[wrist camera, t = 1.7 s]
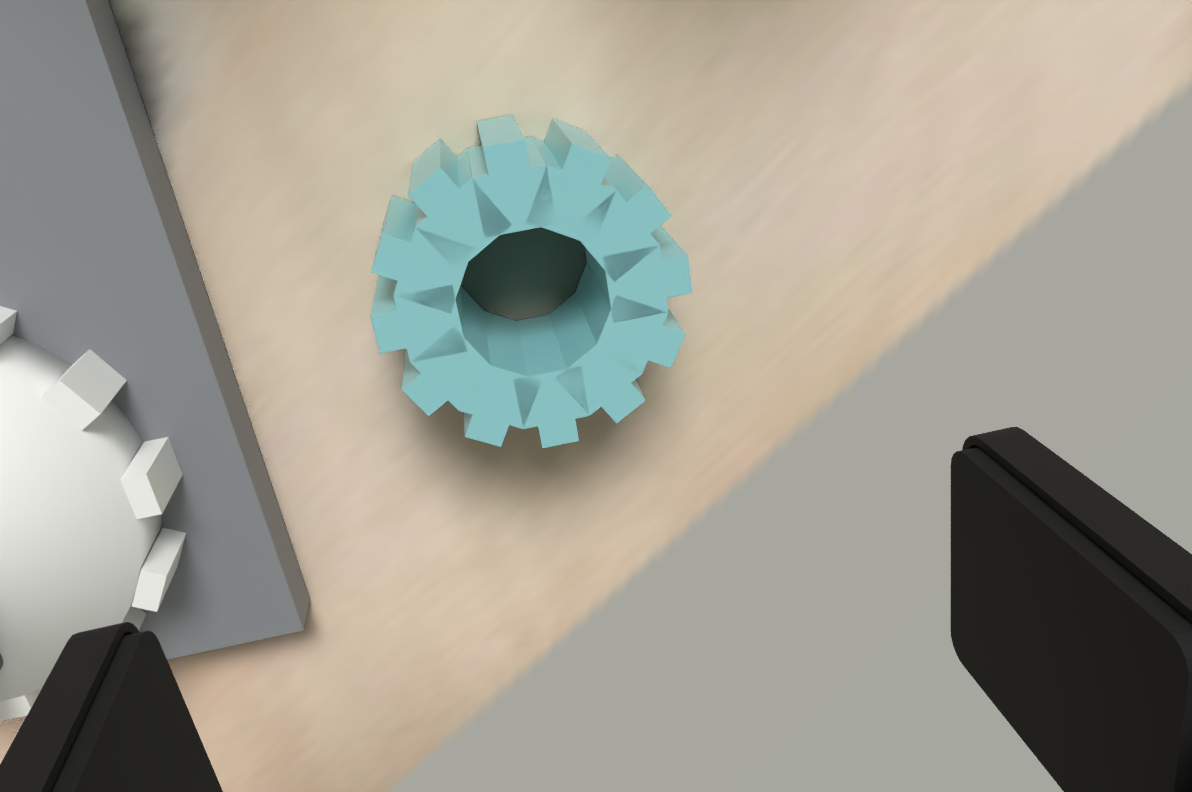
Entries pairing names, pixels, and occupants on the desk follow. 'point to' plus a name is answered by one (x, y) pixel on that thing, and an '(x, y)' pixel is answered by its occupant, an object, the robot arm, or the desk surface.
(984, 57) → the desk surface
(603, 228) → the gear
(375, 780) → the desk surface
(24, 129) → the gear board
